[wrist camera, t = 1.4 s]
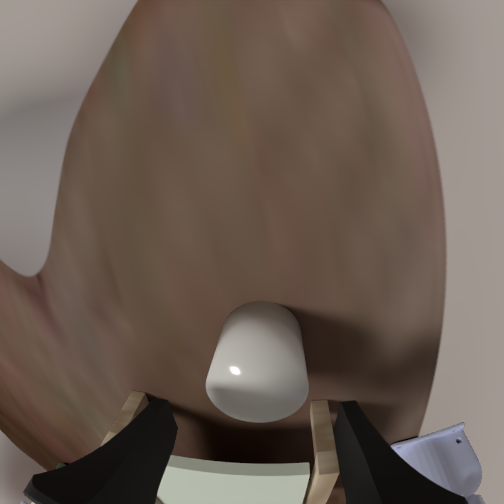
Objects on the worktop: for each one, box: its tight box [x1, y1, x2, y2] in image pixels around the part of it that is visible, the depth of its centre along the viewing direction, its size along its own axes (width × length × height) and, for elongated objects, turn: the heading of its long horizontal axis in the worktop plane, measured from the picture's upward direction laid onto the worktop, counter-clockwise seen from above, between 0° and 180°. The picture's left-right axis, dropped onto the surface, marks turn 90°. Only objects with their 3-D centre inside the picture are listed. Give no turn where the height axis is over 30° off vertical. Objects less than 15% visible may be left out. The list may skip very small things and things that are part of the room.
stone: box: [206, 301, 309, 423], centre depth 14 cm, size 5×5×5 cm
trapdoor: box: [157, 455, 310, 504], centre depth 15 cm, size 13×12×2 cm
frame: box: [100, 391, 340, 504], centre depth 17 cm, size 15×16×7 cm
